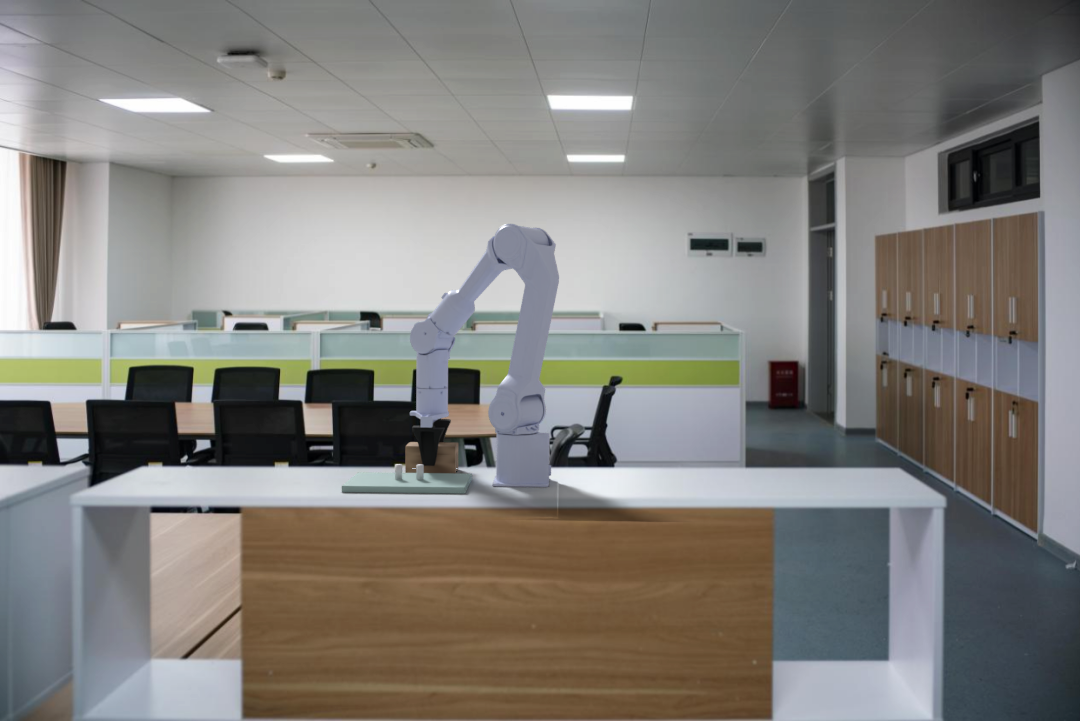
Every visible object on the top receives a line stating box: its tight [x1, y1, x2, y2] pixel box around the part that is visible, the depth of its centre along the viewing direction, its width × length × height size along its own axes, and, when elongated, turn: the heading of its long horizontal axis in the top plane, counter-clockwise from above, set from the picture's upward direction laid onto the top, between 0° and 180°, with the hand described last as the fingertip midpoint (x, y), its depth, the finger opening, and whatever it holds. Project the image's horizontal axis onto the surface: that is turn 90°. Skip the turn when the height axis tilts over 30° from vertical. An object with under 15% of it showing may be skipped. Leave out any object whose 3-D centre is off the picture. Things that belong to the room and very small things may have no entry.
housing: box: [404, 441, 459, 473], centre depth 163 cm, size 9×5×5 cm, turn 89°
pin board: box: [341, 463, 473, 494], centre depth 150 cm, size 20×12×4 cm, turn 89°
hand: (431, 461), depth 163 cm, fingers open, 7 cm apart
